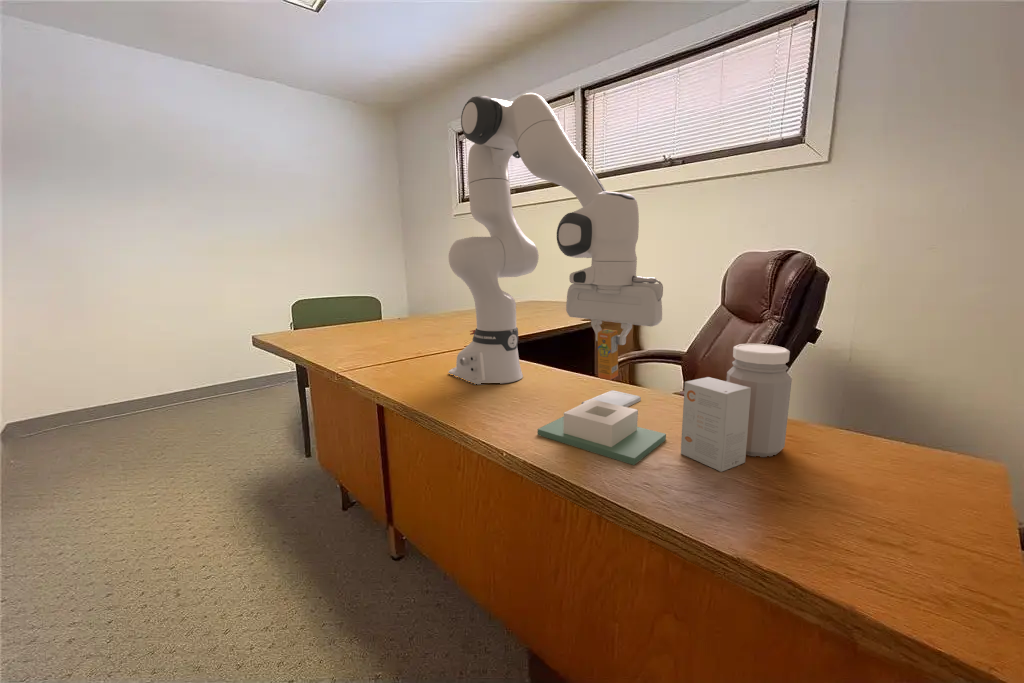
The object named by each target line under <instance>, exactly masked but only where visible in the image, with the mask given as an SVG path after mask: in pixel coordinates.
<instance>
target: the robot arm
mask: <svg viewBox="0 0 1024 683" xmlns="http://www.w3.org/2000/svg"><path fill="white" fill-rule="evenodd" d="M460 126H461V130H462V133H463V136H464V137H465V138H466V139H467V140H469V141H470V142H471V143H474V144H472V145H471V147H470V149H469V151H468V158H467V187H468V196H469V197H468V198H469V209H470V210H469V211H470V213H471V216H472V217H473V219H474V220H475V221H477V222H478V223H480V224H481V225H483V226H484V227H485V228H486V230H487V232H489V235H490V236H469V237H464V238H461V239H456V240H455V241H454V242H453V243H452V244H451V245H450V246H451V247H450V248H449V251H448V263H449V264H448V265H449V266H450V269H451V270H452V272H453V273H454V274H455V275H456V276H457V277H459V279H461V280H462V281H463V282H464V283H465V285H467V287H468V289H469V290H470V292H471V295H472V297H473V300H474V307H475V318H476V328H475V329H472V330H469V332H471V333H469V335H470V336H473V337H472V341H471V342H470V343H468V345H466V346H465V347H464V348H463V349H462V350H460V351H459V352H458V353H457V355H456V366H455V367H453V368H451V369H449V370H448V373H450V374H453V375H455V376H458V377H460V378H463V379H465V380H467V381H470V382H472V383H475V384H474V385H476V384H477V385H482V384H481V383H500V384H509V383H513V382H516V381H520V380H521V379H523V377H524V375H523V372H522V368H521V362H520V357H519V356H520V354H519V350H518V342H519V328H518V327H517V302H516V300H515V298H514V297H513V296H512V295H511V294H509V293H508V292H506V291H504V290H502V288H501V287H500V284H499V279H502V278H517V277H521V276H525V275H528V274H531V273H533V272H534V271H535V270H536V267H537V266H538V262H539V251H538V248H537V246H536V244H535V243H534V242H533V241H532V239H530V238H529V237H528V236H527V235H526V234H525V233H524V232H523V230H522V229H521V227H520V226H519V224H518V222H517V220H516V217H515V214H514V210H513V203H512V197H511V195H512V193H511V185H510V184H511V183H510V175H509V161H510V159H511V157H514V158H515V159H520V158H521V161H522V163H523V164H524V166H525V167H526V169H528V171H529V172H530V173H531V174H532V175H533V176H535V177H537V178H539V179H541V180H544V181H547V182H549V183H553V184H555V185H557V186H561V187H562V188H564V189H566V190H567V191H569V192H571V193H572V194H573V195H574V196H575V197H576V198H577V199H578V202H579V203H580V204H581V208H579V209H576V210H575V211H574V210H573V211H572V212H567V213H566V214H564V216H563V217H562V218H561V219H560V221H559V223H558V224H557V225H558V226H557V229H556V241H557V246H558V248H559V250H560V252H561V253H562V254H564V255H565V256H566V257H570V258H573V259H583V258H586V259H591V266H589V267H585V268H583V269H580V270H576V271H573V272H571V273H570V274H569V278H568V279H569V282H570V283H571V284H570V285H569V286H568V289H567V292H566V293H567V294H566V303H565V304H566V306H565V307H566V309H565V310H566V313H567V315H568V316H569V317H570V318H576V319H585V320H590V325H591V327H592V329H593V331H594V334H595V342H598V332H600V331H602V330H603V328H602V327H601V325H602V324H603V322H609V323H611V322H612V323H619V324H620V329H622V331H621V333H620V334H618V335H617V336H616V341H615V343H616V344H618V346H624V345H626V343H627V336H628V334H629V333H630V332H631V330H632V329H633V325H634V326H643V327H655V326H658V325H659V324H660V323H661V322H662V321H663V305H662V304H663V303H662V302H663V301H662V298H663V296H664V295H663V294H664V285H663V283H662V282H661V281H660V280H659V279H657V278H656V277H653V276H652V277H651V276H649V277H645V276H637V263H638V261H637V260H638V257H637V254H636V253H637V251H636V248H637V242H638V239H639V231H640V230H639V222H640V221H639V220H640V219H639V214H640V213H639V205H638V202H637V198H636V197H635V196H634V195H632V194H631V193H627V192H626V193H625V192H620V191H619V192H616V191H610V190H609V191H607V190H606V189H605V187H604V186H603V184H602V182H601V181H600V179H599V178H598V176H597V174H596V173H595V172H594V170H593V169H592V167H591V166H590V164H589V163H588V162H587V161H586V160H585V158H584V157H583V156H582V155H581V153H579V152H578V150H577V149H576V148H575V146H574V145H573V143H572V142H571V141H570V139H569V138H568V136H567V134H566V132H565V131H564V128H563V126H562V125H561V123H560V121H559V118H558V116H557V115H556V114H555V112H554V111H553V109H552V108H551V106H550V105H549V104H548V102H547V101H546V100H545V98H544V97H542V96H541V95H539V94H538V93H534V92H528V93H524V94H521V95H519V96H518V97H516V99H515V100H514V101H512V100H508V99H507V100H506V99H501V98H500V99H499V98H491V97H490V96H487V95H478V96H472V97H470V98H469V99H468V100H467V102H466V103H465V104H464V106H463V109H462V111H461V116H460ZM467 381H466V382H467ZM472 383H471V384H472Z"/></svg>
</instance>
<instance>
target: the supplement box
mask: <svg viewBox="0 0 1024 683" xmlns="http://www.w3.org/2000/svg"><path fill="white" fill-rule="evenodd" d="M617 335H619V333H618V330H616V329H615V330H613V329H608V328H604V329H602V331H600V332H598V341H597V366H598V367H597V372H598V373H597V374H598V378H599V379H605V380H610V381H612V380H614V379H615V378H617V377H618V376H619V350H618V349H619V345H618V344H616V343H615V341H616V336H617Z"/></svg>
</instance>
